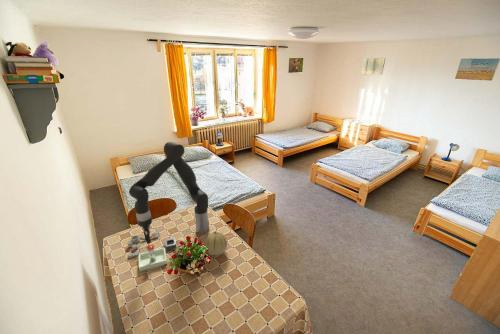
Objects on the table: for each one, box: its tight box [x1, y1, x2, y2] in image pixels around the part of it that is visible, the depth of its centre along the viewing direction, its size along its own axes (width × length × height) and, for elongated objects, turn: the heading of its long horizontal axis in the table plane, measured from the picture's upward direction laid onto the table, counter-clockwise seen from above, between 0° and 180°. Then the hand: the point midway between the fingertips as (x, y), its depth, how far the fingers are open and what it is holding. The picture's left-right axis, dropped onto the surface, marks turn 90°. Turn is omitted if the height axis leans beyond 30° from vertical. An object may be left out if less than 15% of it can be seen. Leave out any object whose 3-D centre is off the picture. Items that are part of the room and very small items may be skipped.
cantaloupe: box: [204, 231, 228, 256], centre depth 160 cm, size 15×15×15 cm
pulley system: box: [126, 230, 161, 259], centre depth 169 cm, size 27×5×15 cm
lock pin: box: [146, 244, 156, 262], centre depth 153 cm, size 4×4×11 cm
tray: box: [138, 246, 168, 272], centre depth 155 cm, size 16×12×3 cm
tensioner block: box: [164, 237, 178, 251], centre depth 167 cm, size 7×7×3 cm
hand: (148, 238), depth 147 cm, fingers open, 8 cm apart
